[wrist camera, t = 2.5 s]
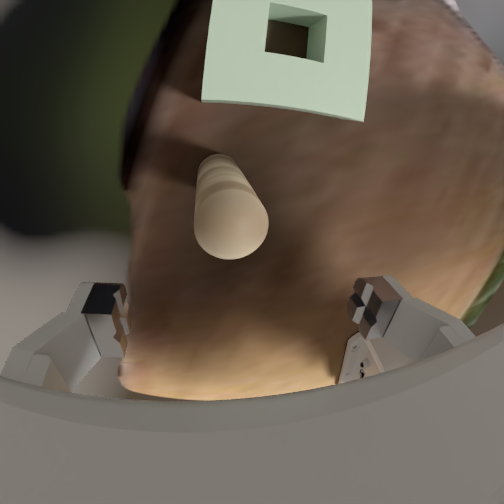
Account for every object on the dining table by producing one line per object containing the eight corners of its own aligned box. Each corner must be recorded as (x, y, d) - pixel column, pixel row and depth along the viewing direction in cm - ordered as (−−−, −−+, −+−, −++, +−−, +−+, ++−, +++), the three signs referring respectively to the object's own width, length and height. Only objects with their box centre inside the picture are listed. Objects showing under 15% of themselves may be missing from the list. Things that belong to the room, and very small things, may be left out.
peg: (237, 193, 27) (264, 259, 16) (197, 193, 26) (193, 259, 15) (240, 154, 25) (272, 191, 14) (198, 153, 24) (194, 189, 13)
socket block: (341, 118, 25) (363, 121, 21) (201, 102, 22) (201, 99, 18) (350, 6, 18) (371, -5, 14) (217, -20, 16) (220, -41, 12)
